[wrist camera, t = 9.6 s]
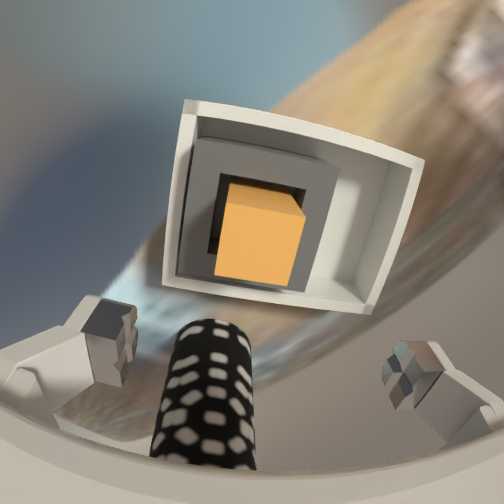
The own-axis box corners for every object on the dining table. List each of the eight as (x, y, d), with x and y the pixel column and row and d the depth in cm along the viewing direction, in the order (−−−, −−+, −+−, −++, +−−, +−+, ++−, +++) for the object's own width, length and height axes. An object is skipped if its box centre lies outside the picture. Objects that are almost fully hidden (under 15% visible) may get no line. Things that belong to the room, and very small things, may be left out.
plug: (286, 188, 21) (305, 217, 15) (274, 239, 23) (286, 286, 16) (231, 177, 21) (226, 202, 14) (221, 230, 22) (214, 274, 16)
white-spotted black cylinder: (261, 329, 31) (278, 518, 13) (238, 379, 34) (240, 538, 16) (182, 309, 30) (138, 501, 11) (170, 363, 33) (138, 523, 14)
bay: (398, 152, 24) (439, 164, 18) (355, 288, 29) (378, 328, 23) (195, 103, 22) (178, 96, 16) (173, 259, 27) (155, 298, 21)
